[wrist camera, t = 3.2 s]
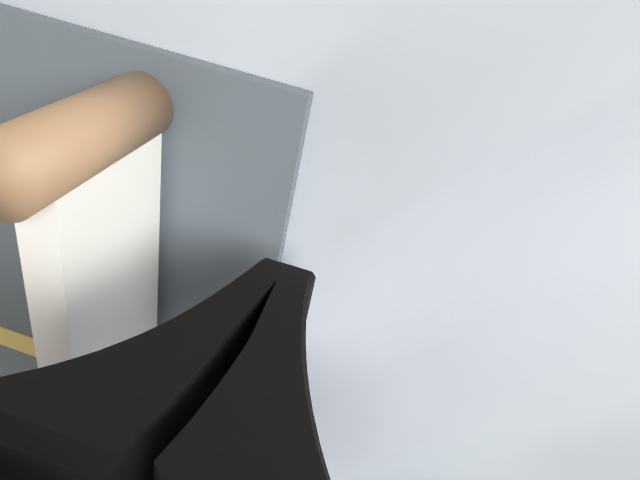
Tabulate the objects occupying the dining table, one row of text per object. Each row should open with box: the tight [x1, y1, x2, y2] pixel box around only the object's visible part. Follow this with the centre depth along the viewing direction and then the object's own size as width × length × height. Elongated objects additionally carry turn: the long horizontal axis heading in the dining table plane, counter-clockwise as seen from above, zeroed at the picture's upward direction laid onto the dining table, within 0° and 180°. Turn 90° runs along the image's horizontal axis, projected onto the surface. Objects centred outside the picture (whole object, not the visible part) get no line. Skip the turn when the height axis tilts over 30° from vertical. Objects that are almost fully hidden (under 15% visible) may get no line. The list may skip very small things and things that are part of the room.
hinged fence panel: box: [0, 71, 174, 368], centre depth 13 cm, size 11×2×5 cm, turn 168°
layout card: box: [0, 3, 313, 377], centre depth 20 cm, size 16×24×1 cm, turn 168°
